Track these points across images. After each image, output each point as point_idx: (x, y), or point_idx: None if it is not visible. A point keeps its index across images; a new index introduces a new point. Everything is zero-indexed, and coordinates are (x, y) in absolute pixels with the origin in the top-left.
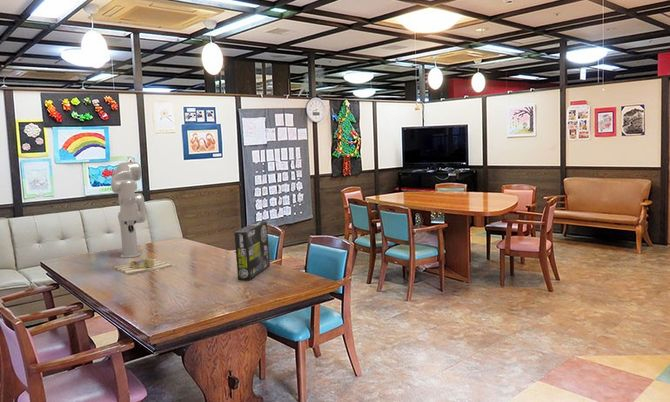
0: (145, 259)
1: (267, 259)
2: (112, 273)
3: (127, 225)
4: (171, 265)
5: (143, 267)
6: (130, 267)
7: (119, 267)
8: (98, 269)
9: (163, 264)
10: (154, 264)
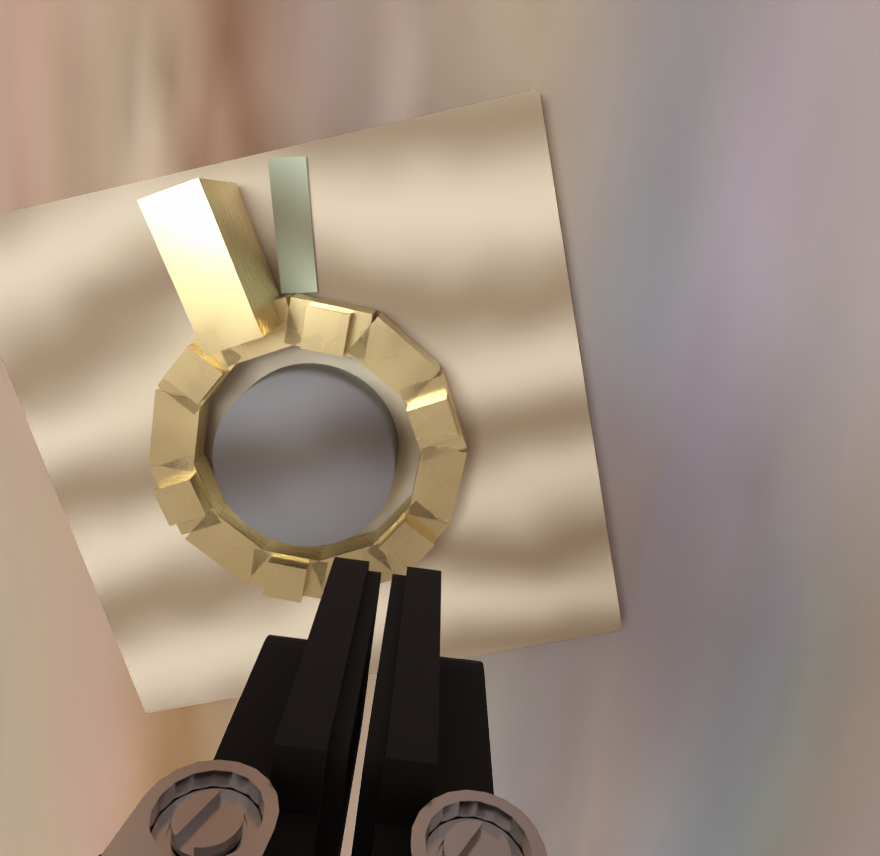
0: (251, 310)
1: None
2: (685, 351)
3: (537, 836)
4: None
5: None
6: None
7: (573, 525)
8: (762, 666)
9: (54, 331)
10: None
